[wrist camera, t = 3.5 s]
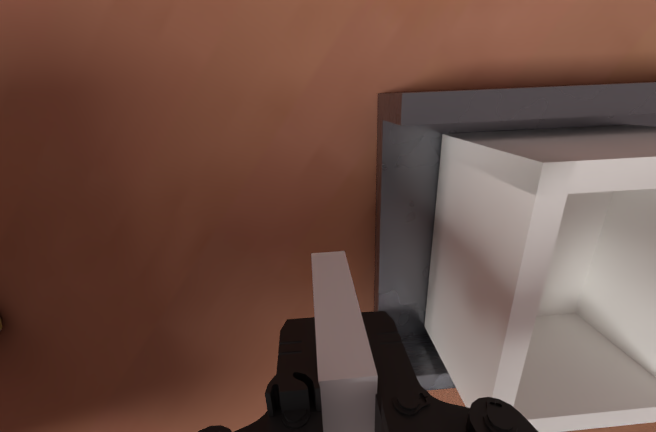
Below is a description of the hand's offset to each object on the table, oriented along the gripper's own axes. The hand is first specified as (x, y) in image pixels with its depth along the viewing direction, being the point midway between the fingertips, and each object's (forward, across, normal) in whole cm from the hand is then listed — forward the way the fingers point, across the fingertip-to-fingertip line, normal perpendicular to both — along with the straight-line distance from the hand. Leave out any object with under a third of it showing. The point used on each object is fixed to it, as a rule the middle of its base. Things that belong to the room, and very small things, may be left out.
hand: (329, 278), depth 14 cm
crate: (+3, -11, 0) cm, 12 cm away
